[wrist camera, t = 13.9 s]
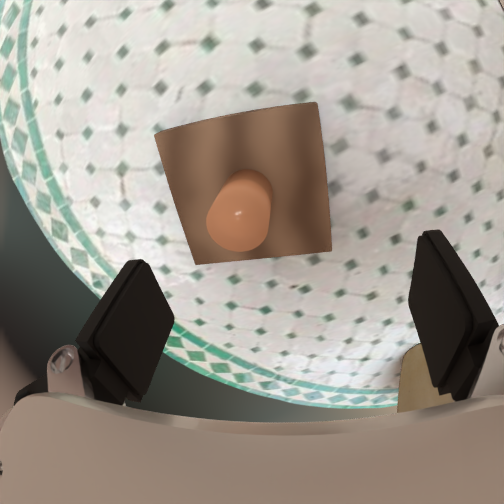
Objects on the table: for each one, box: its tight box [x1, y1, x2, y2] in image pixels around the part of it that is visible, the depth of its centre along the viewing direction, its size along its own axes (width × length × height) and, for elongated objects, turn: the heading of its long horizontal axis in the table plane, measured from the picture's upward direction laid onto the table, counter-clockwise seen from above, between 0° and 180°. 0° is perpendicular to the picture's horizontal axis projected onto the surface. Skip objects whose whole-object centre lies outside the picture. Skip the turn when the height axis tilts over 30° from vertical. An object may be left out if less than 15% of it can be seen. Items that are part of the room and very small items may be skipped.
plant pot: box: [397, 344, 453, 413], centre depth 38 cm, size 15×15×16 cm
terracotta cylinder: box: [206, 169, 273, 252], centre depth 26 cm, size 5×5×7 cm
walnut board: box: [154, 102, 332, 265], centre depth 30 cm, size 16×16×2 cm
